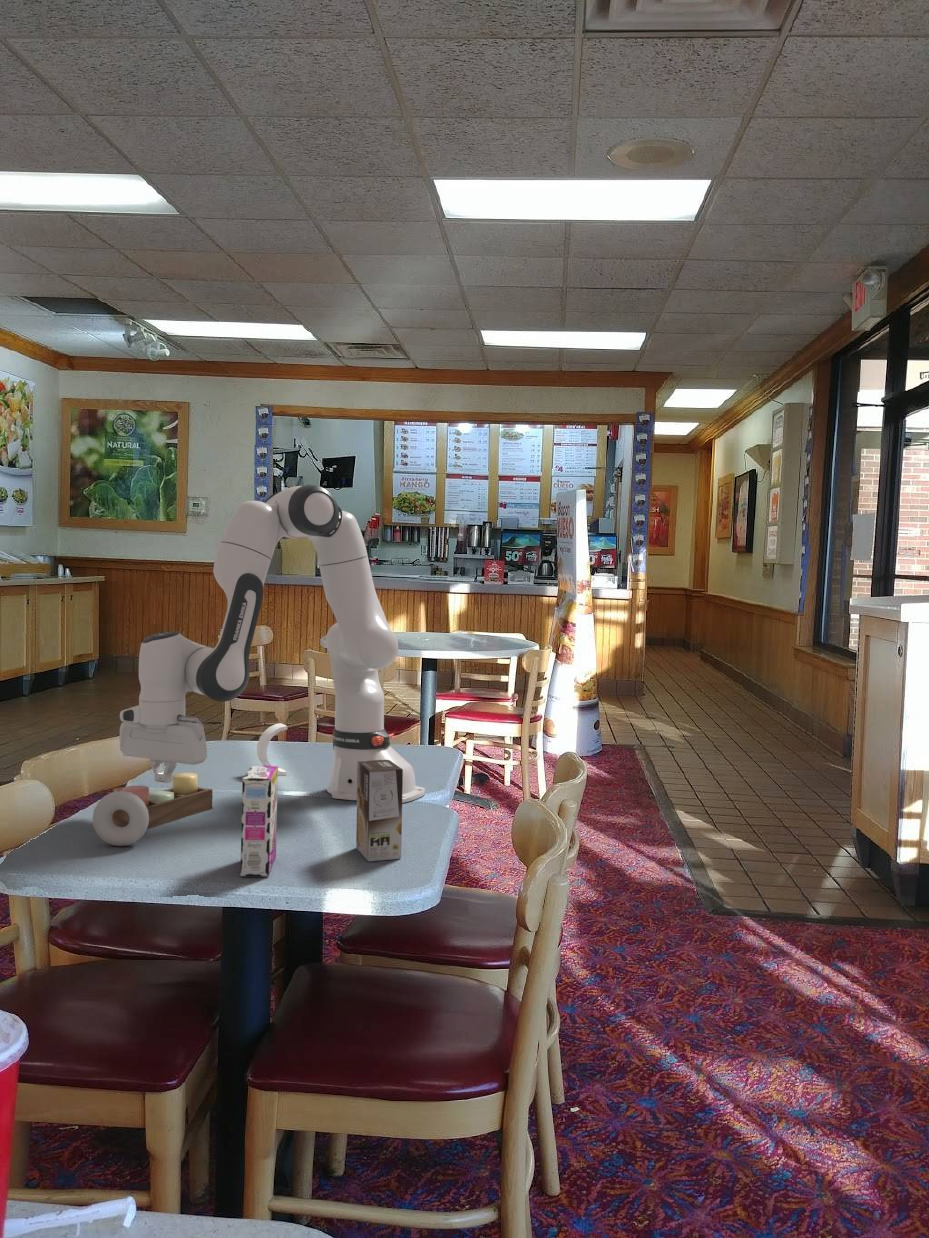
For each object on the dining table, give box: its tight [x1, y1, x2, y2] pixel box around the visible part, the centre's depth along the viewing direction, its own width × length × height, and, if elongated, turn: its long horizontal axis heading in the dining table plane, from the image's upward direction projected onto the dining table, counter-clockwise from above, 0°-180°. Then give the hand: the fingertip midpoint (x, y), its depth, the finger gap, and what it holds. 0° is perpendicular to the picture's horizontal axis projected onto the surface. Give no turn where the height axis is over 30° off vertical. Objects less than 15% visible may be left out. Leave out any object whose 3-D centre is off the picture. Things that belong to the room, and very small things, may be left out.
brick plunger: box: [121, 785, 150, 807], centre depth 187 cm, size 5×5×4 cm
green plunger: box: [149, 790, 174, 802], centre depth 193 cm, size 5×5×4 cm
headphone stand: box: [256, 723, 288, 777], centre depth 234 cm, size 5×6×12 cm
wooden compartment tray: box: [112, 786, 213, 830], centre depth 193 cm, size 8×21×4 cm, turn 153°
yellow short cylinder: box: [171, 772, 199, 795], centre depth 199 cm, size 5×5×4 cm
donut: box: [92, 790, 149, 847], centre depth 173 cm, size 10×4×10 cm, turn 90°
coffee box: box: [355, 760, 403, 862], centre depth 172 cm, size 9×6×16 cm
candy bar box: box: [239, 765, 279, 878], centre depth 163 cm, size 11×5×16 cm, turn 5°
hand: (163, 781), depth 193 cm, fingers closed
